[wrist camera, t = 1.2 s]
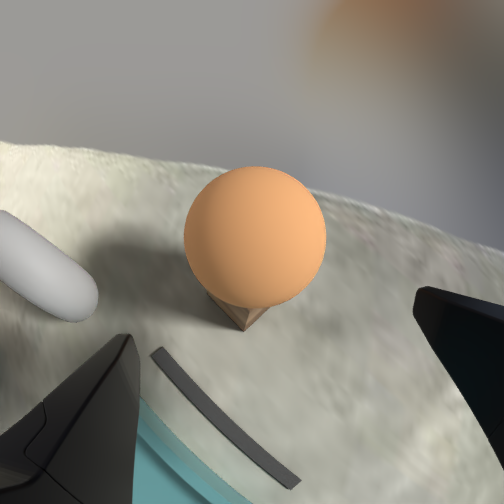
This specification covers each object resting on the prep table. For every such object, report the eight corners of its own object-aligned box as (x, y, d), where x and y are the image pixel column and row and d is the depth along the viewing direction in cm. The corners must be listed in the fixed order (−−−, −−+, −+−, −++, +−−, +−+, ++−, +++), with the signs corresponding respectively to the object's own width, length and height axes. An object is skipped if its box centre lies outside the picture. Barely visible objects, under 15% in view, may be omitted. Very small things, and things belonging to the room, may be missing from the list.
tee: (281, 296, 21) (299, 264, 16) (243, 331, 20) (249, 311, 14) (245, 261, 22) (251, 219, 16) (207, 293, 21) (200, 260, 15)
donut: (20, 283, 19) (-57, 225, 10) (39, 248, 21) (-28, 179, 12) (106, 344, 18) (21, 305, 9) (128, 302, 20) (61, 235, 11)
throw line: (300, 479, 15) (301, 480, 15) (290, 489, 15) (290, 490, 15) (163, 347, 19) (162, 346, 19) (152, 356, 18) (151, 356, 18)
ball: (329, 267, 16) (375, 205, 10) (249, 346, 14) (262, 321, 8) (251, 196, 17) (261, 117, 12) (168, 260, 15) (140, 192, 10)
